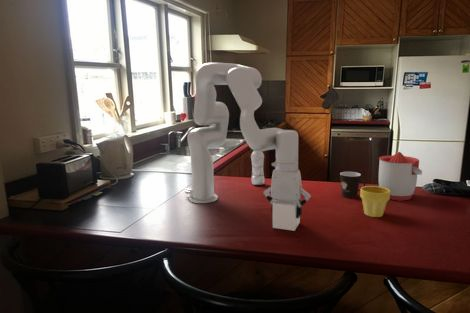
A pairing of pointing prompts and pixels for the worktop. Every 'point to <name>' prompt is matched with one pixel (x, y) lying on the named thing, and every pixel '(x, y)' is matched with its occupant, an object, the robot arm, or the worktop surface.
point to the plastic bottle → (257, 168)
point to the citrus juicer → (399, 175)
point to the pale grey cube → (285, 215)
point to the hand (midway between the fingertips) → (286, 215)
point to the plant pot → (374, 200)
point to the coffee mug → (350, 184)
